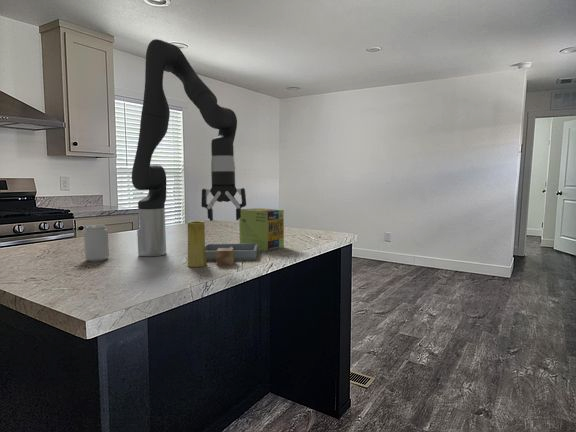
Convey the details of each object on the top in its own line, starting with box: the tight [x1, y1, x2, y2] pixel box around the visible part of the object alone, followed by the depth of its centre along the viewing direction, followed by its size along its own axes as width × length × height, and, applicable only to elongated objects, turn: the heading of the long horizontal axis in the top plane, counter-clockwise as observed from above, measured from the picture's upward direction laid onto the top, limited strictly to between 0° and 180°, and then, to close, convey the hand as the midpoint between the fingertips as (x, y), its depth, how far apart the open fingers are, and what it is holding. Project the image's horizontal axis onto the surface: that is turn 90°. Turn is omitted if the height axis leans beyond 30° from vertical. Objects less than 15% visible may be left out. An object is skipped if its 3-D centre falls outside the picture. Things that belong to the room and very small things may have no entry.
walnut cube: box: [216, 248, 235, 267], centre depth 128 cm, size 5×5×5 cm
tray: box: [205, 243, 259, 262], centre depth 141 cm, size 20×15×3 cm
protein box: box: [238, 207, 285, 252], centre depth 158 cm, size 10×15×16 cm
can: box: [83, 224, 110, 262], centre depth 136 cm, size 8×8×12 cm
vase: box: [187, 220, 208, 268], centre depth 126 cm, size 6×6×14 cm
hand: (224, 220), depth 127 cm, fingers open, 8 cm apart
